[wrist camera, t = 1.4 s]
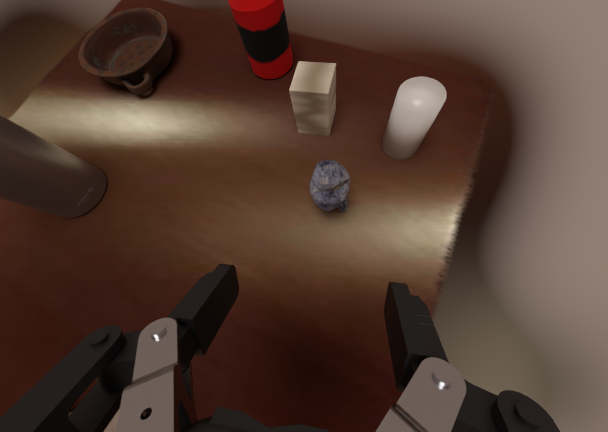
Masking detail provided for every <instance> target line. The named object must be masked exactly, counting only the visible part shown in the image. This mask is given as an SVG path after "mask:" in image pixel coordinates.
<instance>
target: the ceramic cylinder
mask: <svg viewBox="0 0 608 432" xmlns="http://www.w3.org/2000/svg"><path fill="white" fill-rule="evenodd" d="M445 100H446V90H445V88H444V86H443V85H442V84H441V83H440V82H438V81H437V80H435V79H432V78H429V77H414V78H411V79H408V80H407V81H405V82H404V83H403V84H402V85H401V86H400V87H399V90H398V93H397V96H396V99H395V102H394V105H393V109H392V112H391V115H390V118H389V121H388V124H387V128H386V131H385V134H384V137H383V140H382V148H383V151H384V152H385V153H386V154H387V155H388V156H389V157H391V158H394V159H400V160H401V159H407V158H410V157H411V156H413V155H414V154H415V152H416V151H417V149H418V147H419V146H420V144H421V142H422V140H423V139H424V137H425V135H426V133H427V132H428V130H429V128H430V126H431V125H432V123H433V121H434V119H435V118H436V116H437V114H438V113H439V111H440V109H441V107H442V106H443V104H444V102H445Z"/></svg>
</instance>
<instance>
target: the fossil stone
mask: <svg viewBox="0 0 608 432" xmlns="http://www.w3.org/2000/svg"><path fill="white" fill-rule="evenodd" d="M316 165H317V166H316V167H315V170H314V173H313V175H312V178H311V182H310V183H309V184H310V194H311V196H312V198H313V201H314V202H315V204H316V205H317V206H318V207H319V208H321V209H323V210H326V211H331V210H333V209H335V208H337V207H338V208H339V209H340V210H341V211H342V212H345V211H346V208H347V206H348V203H349V201H347V198H346V196H347V194H348V191H349V184H350V180H349V179H350V177H349V174H348V172H347V171H346V169H345V168H344V167H343V166H342V165H341V164H340V163H338V162H336V161H333V160H323V161H321V162H318V163H317V164H316Z"/></svg>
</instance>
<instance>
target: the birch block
mask: <svg viewBox="0 0 608 432" xmlns="http://www.w3.org/2000/svg"><path fill="white" fill-rule="evenodd" d="M289 92H290V97H291V101H292V106H293V110H294V115H295V119H296V124H297V129H298V133H307V134H315V135H324V136H330V132H331V127H332V123H333V119H334V115H335V111H336V63H319V62H301V61H299V62H298V65H297V68H296V71H295V74H294V77H293V80H292V83H291V86H290V89H289Z"/></svg>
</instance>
